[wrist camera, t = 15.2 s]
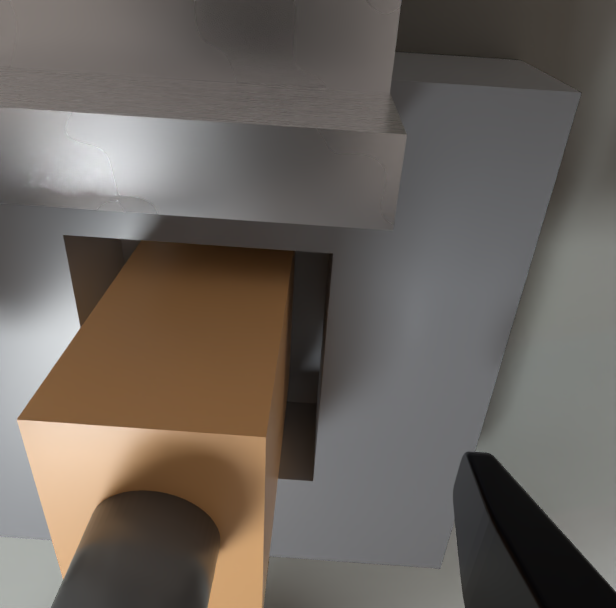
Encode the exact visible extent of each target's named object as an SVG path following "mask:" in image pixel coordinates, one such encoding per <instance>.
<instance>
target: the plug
mask: <svg viewBox="0 0 616 608" xmlns="http://www.w3.org/2000/svg"><path fill="white" fill-rule="evenodd" d="M294 268H295V251H289V250H275V249H260V248H246V247H231V246H217V245H202V244H188V243H174V242H159V241H145V240H141V242H140V243H139V245H138V246H137V247H136V249H135V250H134V252H133V253H132V255H131V256H130V258H129V259H128V260H127V262H126V263H125V265H124V266H123V268H122V269H121V270H120V272H119V273H118V275H117V276H116V278H115V279H114V281H113V282H112V283H111V285H110V286H109V288H108V289H107V291H106V292H105V293H104V295H103V296H102V298H101V299H100V301H99V302H98V304H97V305H96V306H95V308H94V309H93V311H92V312H91V314H90V315H89V316H88V318H87V319H86V321H85V322H84V324H83V325H82V326H81V328H80V329H79V331H78V332H77V334H76V335H75V337H74V338H73V339H72V341H71V342H70V344H69V345H68V347H67V348H66V349H65V351H64V352H63V354H62V355H61V357H60V358H59V360H58V361H57V362H56V364H55V365H54V367H53V368H52V370H51V371H50V372H49V374H48V375H47V377H46V378H45V380H44V381H43V383H42V384H41V385H40V387H39V388H38V390H37V391H36V393H35V394H34V395H33V397H32V398H31V400H30V401H29V403H28V404H27V405H26V407H25V408H24V410H23V411H22V413H21V414H20V416H19V417H18V418H17V422H18V426H19V429H20V433H21V436H22V440H23V443H24V446H25V450H26V453H27V457H28V460H29V464H30V467H31V470H32V474H33V477H34V481H35V484H36V488H37V491H38V495H39V498H40V501H41V505H42V508H43V512H44V515H45V519H46V522H47V525H48V529H49V532H50V536H51V539H52V543H53V546H54V549H55V553H56V556H57V560H58V563H59V567H60V570H61V573H62V577H63V581H62V584H61V586H60V588H59V591H58V593H57V595H56V597H55V600H54V602H53V604H52V606H51V608H264V599H265V590H266V581H267V572H268V563H269V554H270V545H271V536H272V528H273V519H274V510H275V501H276V492H277V483H278V474H279V465H280V456H281V447H282V438H283V429H284V420H285V411H286V403H287V394H288V385H289V371H290V350H291V330H292V309H293V288H294Z"/></svg>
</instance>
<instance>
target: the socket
mask: <svg viewBox="0 0 616 608" xmlns="http://www.w3.org/2000/svg"><path fill="white" fill-rule="evenodd" d="M390 94H391V97H392V99H393V102H394V104H395V106H396V109H397V111H398V114H399V116H400V119H401V121H402V124H403V126H404V128H405V131H406V133H407V138H406V145H405V152H404V159H403V166H402V172H401V179H400V186H399V193H398V200H397V206H396V213H395V220H394V227H393V231H391V230H377V229H362V228H348V227H333V226H319V225H304V224H290V223H275V222H261V221H246V220H232V219H217V218H203V217H188V216H174V215H159V214H145V213H130V212H116V211H101V210H87V209H72V208H58V207H43V206H29V205H14V204H0V537H13V538H26V539H40V540H52V539H51V536H50V532H49V529H48V525H47V522H46V519H45V515H44V512H43V508H42V505H41V501H40V498H39V495H38V491H37V488H36V484H35V481H34V477H33V474H32V470H31V467H30V464H29V460H28V457H27V453H26V450H25V446H24V443H23V440H22V436H21V433H20V429H19V426H18V422H17V418H18V417H19V416H20V414H21V413H22V411H23V410H24V408H25V407H26V405H27V404H28V403H29V401H30V400H31V398H32V397H33V395H34V394H35V393H36V391H37V390H38V388H39V387H40V385H41V384H42V383H43V381H44V380H45V378H46V377H47V375H48V374H49V372H50V371H51V370H52V368H53V367H54V365H55V364H56V362H57V361H58V360H59V358H60V357H61V355H62V354H63V352H64V351H65V349H66V348H67V347H68V345H69V344H70V342H71V341H72V339H73V338H74V337H75V335H76V334H77V332H78V331H79V329H80V328H81V326H82V325H83V324H84V322H85V321H86V319H87V318H88V316H89V315H90V314H91V312H92V311H93V309H94V308H95V306H96V305H97V304H98V302H99V301H100V299H101V298H102V296H103V295H104V293H105V292H106V291H107V289H108V288H109V286H110V285H111V283H112V282H113V281H114V279H115V278H116V276H117V275H118V273H119V272H120V270H121V269H122V268H123V266H124V265H125V263H126V262H127V260H128V259H129V258H130V256H131V255H132V253H133V252H134V250H135V249H136V247H137V246H138V245H139V243H140V242H141V240H145V241H159V242H174V243H188V244H202V245H217V246H231V247H246V248H260V249H275V250H289V251H295V268H294V288H293V309H292V330H291V350H290V371H289V385H288V394H287V403H286V411H285V420H284V429H283V438H282V447H281V456H280V465H279V474H278V483H277V492H276V501H275V510H274V519H273V528H272V536H271V545H270V554H269V556H272V557H286V558H300V559H313V560H327V561H341V562H354V563H368V564H382V565H395V566H409V567H423V568H436V569H440V568H441V565H442V561H443V558H444V554H445V551H446V548H447V544H448V541H449V538H450V534H451V531H452V528H453V524H454V521H455V517H454V507H453V487H454V483H455V479H456V476H457V472H458V469H459V465H460V462H461V458H462V456H463V454H464V453H465V452H468V451H470V452H475V450H476V447H477V443H478V440H479V437H480V433H481V430H482V427H483V423H484V420H485V416H486V413H487V410H488V406H489V403H490V400H491V396H492V393H493V389H494V386H495V383H496V379H497V376H498V373H499V369H500V366H501V363H502V359H503V356H504V352H505V349H506V346H507V342H508V339H509V336H510V332H511V329H512V325H513V322H514V319H515V315H516V312H517V309H518V305H519V302H520V299H521V295H522V292H523V288H524V285H525V282H526V278H527V275H528V272H529V268H530V265H531V261H532V258H533V255H534V251H535V248H536V245H537V241H538V238H539V235H540V231H541V228H542V224H543V221H544V218H545V214H546V211H547V208H548V204H549V201H550V197H551V194H552V191H553V187H554V184H555V181H556V177H557V174H558V171H559V167H560V164H561V160H562V157H563V154H564V150H565V147H566V144H567V140H568V137H569V134H570V130H571V127H572V123H573V120H574V117H575V113H576V110H577V107H578V103H579V100H580V96H581V92H579V91H578V90H576V89H574V88H572V87H570V86H568V85H566V84H565V83H563V82H561V81H559V80H557V79H555V78H553V77H551V76H550V75H548V74H546V73H544V72H542V71H540V70H538V69H537V68H535V67H533V66H531V65H529V64H527V63H525V62H523V61H522V60H510V59H495V58H480V57H465V56H450V55H435V54H420V53H405V52H395V56H394V64H393V72H392V80H391V88H390Z"/></svg>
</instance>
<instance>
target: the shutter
mask: <svg viewBox="0 0 616 608" xmlns="http://www.w3.org/2000/svg"><path fill="white" fill-rule="evenodd" d="M401 1H402V0H0V204H14V205H29V206H43V207H58V208H72V209H87V210H101V211H116V212H130V213H145V214H159V215H174V216H188V217H203V218H217V219H232V220H246V221H261V222H275V223H290V224H304V225H319V226H333V227H348V228H362V229H377V230H391V231H393V227H394V220H395V213H396V206H397V200H398V193H399V186H400V179H401V172H402V166H403V159H404V152H405V145H406V138H407V133H406V131H405V128H404V126H403V124H402V121H401V119H400V116H399V114H398V111H397V109H396V106H395V104H394V102H393V99H392V97H391V94H390V88H391V80H392V72H393V64H394V56H395V48H396V41H397V33H398V25H399V17H400V9H401Z"/></svg>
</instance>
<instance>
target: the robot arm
mask: <svg viewBox="0 0 616 608" xmlns="http://www.w3.org/2000/svg"><path fill="white" fill-rule="evenodd" d="M453 507H454V517H455V527H456V536H457V546H458V556H459V565H460V575H461V584H462V592H463V599H464V604H465V608H616V591H615V590H614V589H613V588H612V587H611V586H610V585H609V584H608V582H607V581H606V580H605V579H604V578H603V577H602V576H601V575H600V574H599V572H598V571H597V570H596V569H595V568H594V567H593V566H592V565H591V564H590V562H589V561H588V560H587V559H586V558H585V557H584V556H583V555H582V554H581V552H580V551H579V550H578V549H577V548H576V547H575V546H574V545H573V544H572V542H571V541H570V540H569V539H568V538H567V537H566V536H565V535H564V534H563V532H562V531H561V530H560V529H559V528H558V527H557V526H556V525H555V524H554V522H553V521H552V520H551V519H550V518H549V517H548V516H547V515H546V514H545V512H544V511H543V510H542V509H541V508H540V507H539V506H538V505H537V504H536V502H535V501H534V500H533V499H532V498H531V497H530V496H529V495H528V494H527V492H526V491H525V490H524V489H523V488H522V487H521V486H520V485H519V484H518V482H517V481H516V480H515V479H514V478H513V477H512V476H511V475H510V474H509V472H508V471H507V470H506V469H505V468H504V467H503V466H502V465H501V464H500V462H499V461H498V460H497V459H496V458H495V457H494V456H493V455H491V454H490V453H484V452H470V451H468V452H465V453H464V454H463V456H462V458H461V462H460V465H459V469H458V472H457V476H456V479H455V483H454V487H453Z"/></svg>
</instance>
